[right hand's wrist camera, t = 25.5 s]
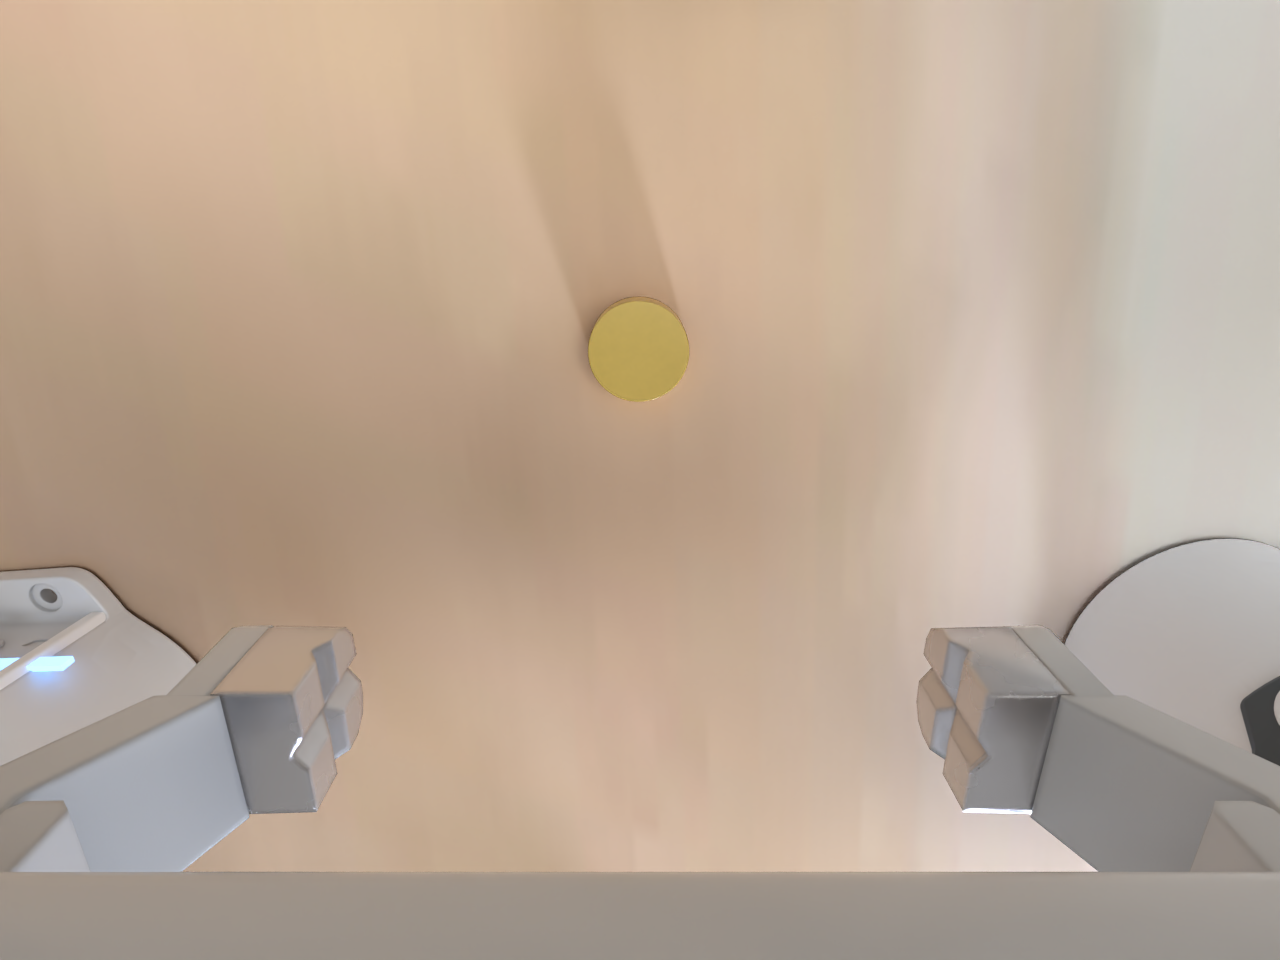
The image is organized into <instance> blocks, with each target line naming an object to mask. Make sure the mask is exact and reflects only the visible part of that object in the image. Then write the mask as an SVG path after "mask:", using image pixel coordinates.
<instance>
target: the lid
mask: <svg viewBox="0 0 1280 960" xmlns="http://www.w3.org/2000/svg"><path fill="white" fill-rule="evenodd" d="M588 358H589V363H590V367H591V370H592V372H593V374H594V376H595V378H596V379H597V381H598V382H599V383H600V384H601V385H602V387H604V388H605V389H606V390H607V391H608V392H610V393H611V394H613V395H614V396H616V397H618V398H621V399H624V400H628V401H635V402H644V401H650V400H653V399H656V398H659V397H661V396H663V395H665V394H666V393H668V392H669V391H670V390H672V389H673V388H674V387H675V386H676V385H677V384H678V382H679V381H680V380H681V378H682V376H683V374H684V372H685V370H686V367H687V364H688V359H689V343H688V339H687V335H686V332H685V330H684V327H683V325H682V323H681V321H680V319H679V318H678V316H677V315H676V314H675V313H674V312H673V311H672V310H671V309H670V308H669V307H668V306H666V305H665V304H663V303H661V302H660V301H657V300H655V299H651V298H647V297H630V298H626V299H623V300H620V301H618V302H616V303H614V304H612V305H611V306H609V307H608V308H607V309H606V310H605V311H604V312H603V313H602V314H601V315H600V317H599V318H598V320H597V321H596V323H595V325H594V328H593V330H592V333H591V336H590V339H589V344H588Z"/></svg>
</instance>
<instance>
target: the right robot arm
mask: <svg viewBox="0 0 1280 960" xmlns="http://www.w3.org/2000/svg"><path fill="white" fill-rule="evenodd" d="M52 591H54V592H55V593H56V594H54V593H53V592H52ZM355 656H356V650H355V645H354V640H353V635H352V633H351V632H350V631H349V630H348V629H347V628H346V627H309V626H272V625H265V626H239V627H234V628H232V629H231V630H230V631H229V632H228V633H227V634H226V635H225V636H224V637H223V638H222V639H221V640H220V641H219V642H218V643H217V644H216V645H215V646H214V647H213V648H212V649H211V650H210V651H209V652H208V653H207V654H206V655H205V656H204V657H203V658H202V659H201V660H200V661H199V662H198V663H196V662H195V661H194V660H193V659H192V658H191V657H190V656H189V655H188V654H187V653H186V652H185V651H184V650H183V649H182V648H181V647H179V646H178V645H177V644H176V643H175V642H173V641H172V640H171V639H169V638H168V637H167V636H165V635H164V634H162V633H161V632H159V631H158V630H156V629H154V628H153V627H151V626H150V625H148V624H146V623H145V622H143V621H141V620H140V619H138V618H137V617H135V616H134V615H133V614H131V613H130V612H129V611H127V610H126V609H125V608H124V606H123V605H122V604H121V603H120V602H119V600H118V599H117V598H116V597H115V596H114V595H113V593H112V592H111V591H110V590H109V589H108V588H107V587H106V586H105V584H104V583H103V582H102V581H101V580H99V579H98V578H97V577H96V576H95V575H94V574H92V573H91V572H89V571H87V570H85V569H82V568H77V567H63V568H48V569H33V570H19V571H4V572H0V960H1280V766H1278V765H1276V764H1274V763H1272V762H1270V761H1268V760H1265V759H1263V758H1261V757H1259V756H1257V755H1255V754H1252V753H1250V752H1248V751H1246V750H1244V749H1241V748H1239V747H1237V746H1235V745H1233V744H1231V743H1228V742H1226V741H1224V740H1222V739H1220V738H1218V737H1215V736H1213V735H1211V734H1209V733H1207V732H1204V731H1202V730H1200V729H1198V728H1196V727H1194V726H1191V725H1189V724H1187V723H1185V722H1183V721H1180V720H1178V719H1176V718H1174V717H1172V716H1170V715H1167V714H1165V713H1163V712H1161V711H1159V710H1157V709H1154V708H1152V707H1150V706H1148V705H1146V704H1143V703H1141V702H1139V701H1137V700H1135V699H1133V698H1130V697H1128V696H1126V695H1113V694H1112V693H1111V692H1110V691H1109V690H1108V689H1107V688H1106V687H1105V686H1104V685H1103V684H1102V683H1101V682H1100V681H1099V680H1098V679H1097V678H1096V676H1095V675H1094V674H1093V673H1092V672H1091V671H1090V670H1089V669H1088V668H1087V667H1086V666H1085V665H1084V664H1083V663H1082V662H1081V661H1080V660H1079V659H1078V658H1077V657H1076V656H1075V655H1074V654H1073V653H1072V652H1071V651H1070V650H1069V649H1068V648H1067V647H1066V646H1065V645H1064V644H1063V643H1062V642H1061V641H1060V640H1059V639H1058V638H1057V637H1056V636H1055V635H1054V634H1053V633H1052V632H1051V631H1050V630H1049V629H1048V628H1045V627H1043V626H1040V625H1028V626H1003V627H970V628H932V629H931V630H930V632H929V634H928V636H927V638H926V644H925V649H924V656H925V657H926V659H927V660H928V662H929V664H930V665H931V667H932V668H931V669H930V670H929V671H928V672H927V673H926V675H925V676H924V677H923V678H922V679H921V680H920V681H919V686H918V694H917V711H918V721H919V725H920V728H921V731H922V735H923V737H924V739H925V741H926V743H927V745H928V747H929V749H930V750H932V751H933V752H935V753H936V754H938V755H939V756H941V757H942V758H944V759H945V763H944V769H943V775H944V777H945V779H946V780H947V782H948V784H949V786H950V788H951V790H952V791H953V793H954V795H955V797H956V799H957V801H958V803H959V804H960V806H961V808H962V810H963V812H979V813H1015V814H1031V816H1030V817H1031V818H1032V819H1034V820H1035V821H1036V822H1037V823H1039V824H1040V825H1041V826H1042V827H1043V828H1045V829H1046V830H1047V831H1048V832H1050V833H1051V834H1052V835H1053V836H1055V837H1056V838H1057V839H1058V840H1060V841H1061V842H1062V843H1063V844H1065V845H1066V846H1067V847H1068V848H1070V849H1071V850H1072V851H1073V852H1075V853H1076V854H1077V855H1078V856H1080V857H1081V858H1082V859H1083V860H1085V861H1086V862H1087V863H1088V864H1090V865H1091V866H1092V867H1093V868H1095V869H1096V870H1097V871H1098V872H182V871H183V870H184V869H185V868H187V867H188V866H189V865H190V864H192V863H193V862H194V861H195V860H197V859H198V858H199V857H200V856H202V855H203V854H204V853H205V852H207V851H208V850H209V849H211V848H212V847H213V846H214V845H216V844H217V843H218V842H219V841H221V840H222V839H223V838H224V837H226V836H227V835H228V834H229V833H231V832H232V831H233V830H234V829H236V828H237V827H238V826H239V825H241V824H242V823H243V822H244V821H246V820H247V819H248V818H249V814H265V813H300V812H317V810H318V808H319V806H320V804H321V803H322V801H323V799H324V797H325V795H326V793H327V792H328V790H329V788H330V786H331V784H332V782H333V780H334V779H335V777H336V775H337V769H336V763H335V759H336V758H338V757H339V756H341V755H342V754H344V753H345V752H347V751H348V750H350V749H351V747H352V745H353V743H354V741H355V739H356V737H357V735H358V732H359V728H360V723H361V719H362V715H363V692H362V685H361V681H360V680H359V679H358V678H357V677H356V676H355V675H354V673H353V672H352V671H351V670H350V669H349V668H348V667H349V665H350V664H351V662H352V660H353V659H354V657H355Z"/></svg>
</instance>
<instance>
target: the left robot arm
mask: <svg viewBox="0 0 1280 960" xmlns="http://www.w3.org/2000/svg"><path fill="white" fill-rule="evenodd" d="M1065 646H1066V647H1067V648H1068V649H1069V650H1070V651H1071V652H1072V653H1073V654H1074V655H1075V656H1076V657H1077V658H1078V659H1079V660H1080V661H1081V662H1082V663H1083V664H1084V665H1085V666H1086V667H1087V668H1088V669H1089V670H1090V671H1091V672H1092V673H1093V674H1094V675H1095V676H1096V678H1097V679H1098V680H1099V681H1100V682H1101V683H1102V684H1103V685H1104V686H1105V687H1106V688H1107V689H1108V690H1109V691H1110V692H1111V693H1112V694H1113V695H1126V696H1128V697H1130V698H1133V699H1135V700H1137V701H1139V702H1141V703H1143V704H1146V705H1148V706H1150V707H1152V708H1154V709H1157V710H1159V711H1161V712H1163V713H1165V714H1167V715H1170V716H1172V717H1174V718H1176V719H1178V720H1180V721H1183V722H1185V723H1187V724H1189V725H1191V726H1194V727H1196V728H1198V729H1200V730H1202V731H1204V732H1207V733H1209V734H1211V735H1213V736H1215V737H1218V738H1220V739H1222V740H1224V741H1226V742H1228V743H1231V744H1233V745H1235V746H1237V747H1239V748H1241V749H1244V750H1246V751H1248V752H1250V753H1252V754H1255V755H1257V756H1259V757H1261V758H1263V759H1265V760H1268V761H1270V762H1272V763H1274V764H1276V765H1278V766H1280V549H1278V548H1275V547H1273V546H1270V545H1267V544H1264V543H1260V542H1256V541H1250V540H1244V539H1211V540H1203V541H1198V542H1193V543H1188V544H1184V545H1181V546H1178V547H1174V548H1171V549H1169V550H1166V551H1163V552H1161V553H1158V554H1156V555H1154V556H1152V557H1150V558H1148V559H1146V560H1144V561H1142V562H1140V563H1138V564H1136V565H1135V566H1133V567H1131V568H1130V569H1128V570H1127V571H1125V572H1124V573H1122V574H1121V575H1120V576H1118V577H1117V578H1116V579H1114V580H1113V581H1112V582H1111V583H1109V584H1108V585H1107V586H1106V587H1105V588H1104V589H1103V590H1102V591H1100V592H1099V593H1098V594H1097V595H1096V597H1095V598H1094V599H1093V600H1092V601H1091V602H1090V603H1089V604H1088V605H1087V607H1086V608H1085V609H1084V611H1083V612H1082V613H1081V615H1080V616H1079V618H1078V619H1077V621H1076V622H1075V624H1074V625H1073V627H1072V629H1071V631H1070V633H1069V635H1068V637H1067V639H1066V642H1065Z"/></svg>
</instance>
